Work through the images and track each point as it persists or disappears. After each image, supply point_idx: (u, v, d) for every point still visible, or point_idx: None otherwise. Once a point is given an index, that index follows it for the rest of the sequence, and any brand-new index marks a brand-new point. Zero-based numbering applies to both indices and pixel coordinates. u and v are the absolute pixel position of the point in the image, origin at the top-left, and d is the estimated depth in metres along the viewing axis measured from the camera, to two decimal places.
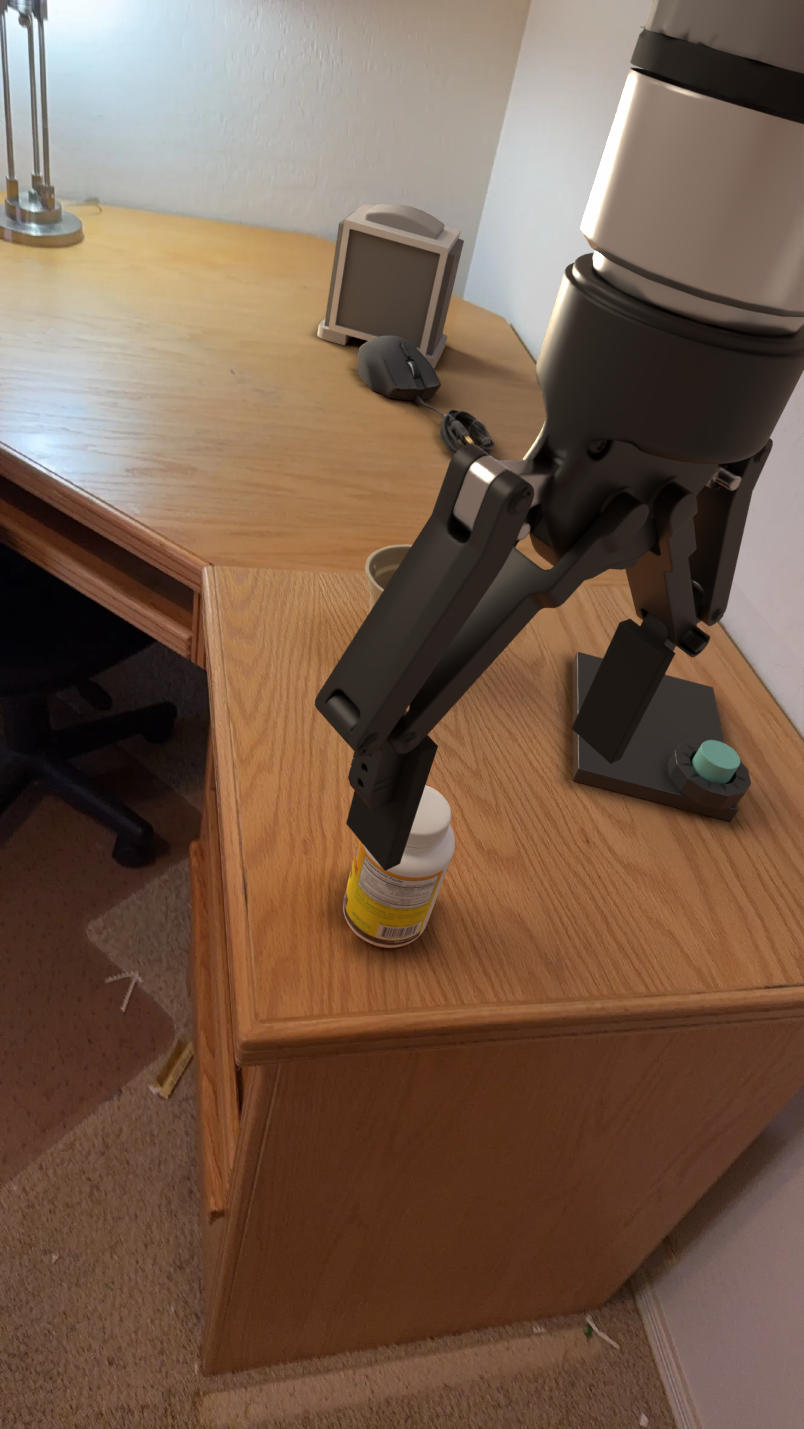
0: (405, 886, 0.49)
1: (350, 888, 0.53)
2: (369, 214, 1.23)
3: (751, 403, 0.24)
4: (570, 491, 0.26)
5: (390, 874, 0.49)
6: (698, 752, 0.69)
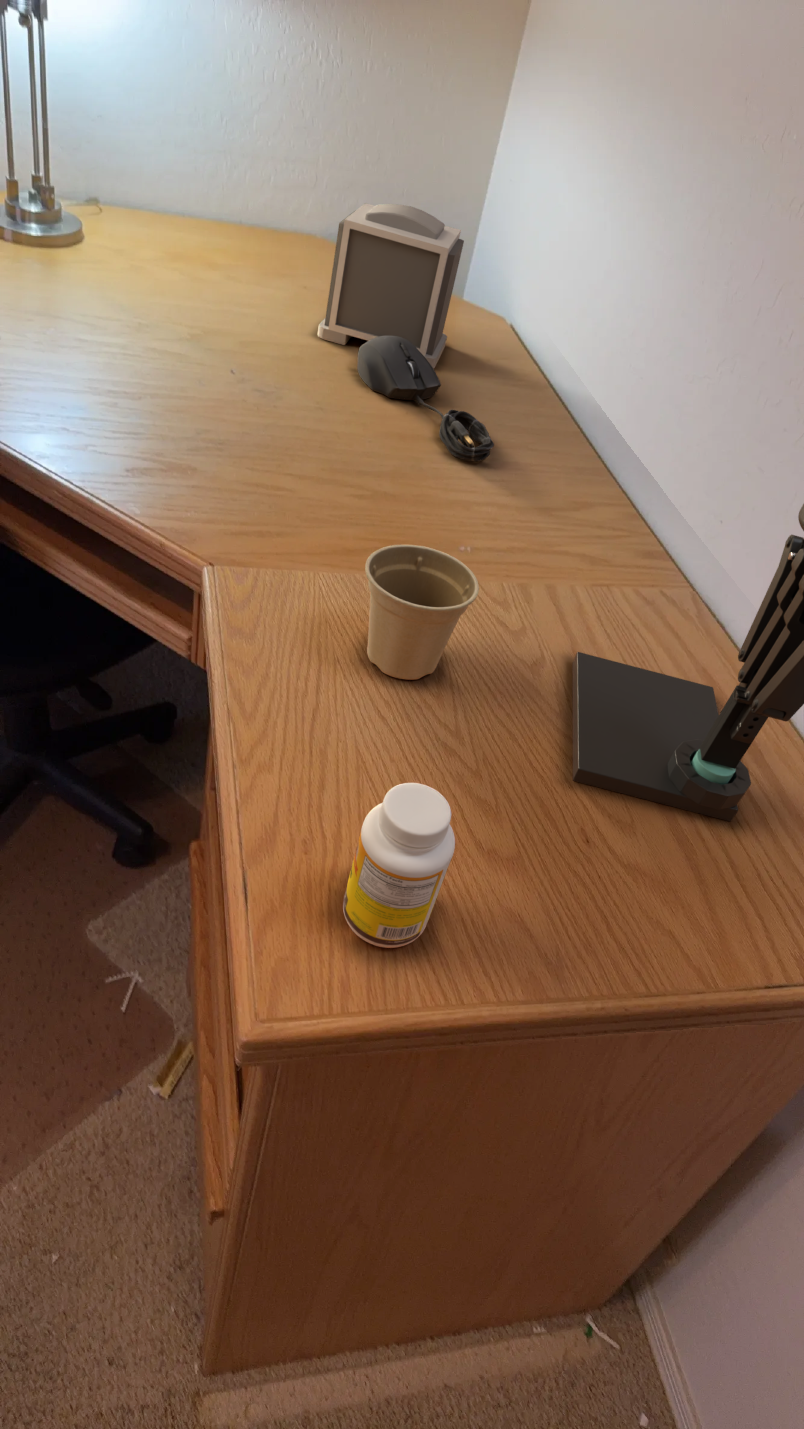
0: (405, 886, 0.49)
1: (350, 888, 0.53)
2: (369, 214, 1.23)
3: None
4: None
5: (390, 875, 0.49)
6: (694, 759, 0.69)
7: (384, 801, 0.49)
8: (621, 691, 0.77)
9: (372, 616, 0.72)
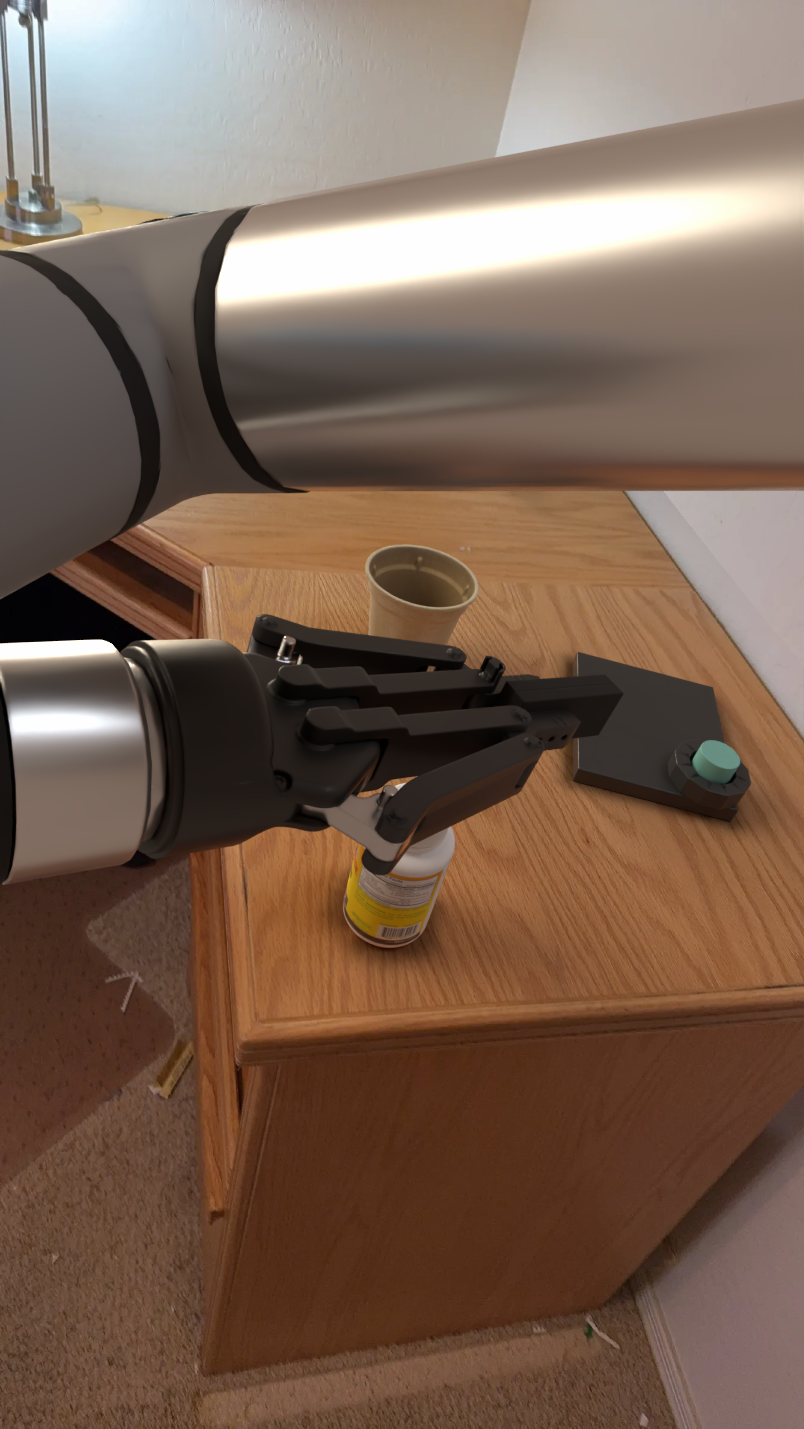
0: (405, 886, 0.49)
1: (350, 888, 0.53)
2: None
3: (208, 681, 0.28)
4: (322, 788, 0.30)
5: (390, 874, 0.49)
6: (698, 752, 0.69)
7: None
8: None
9: (372, 616, 0.72)
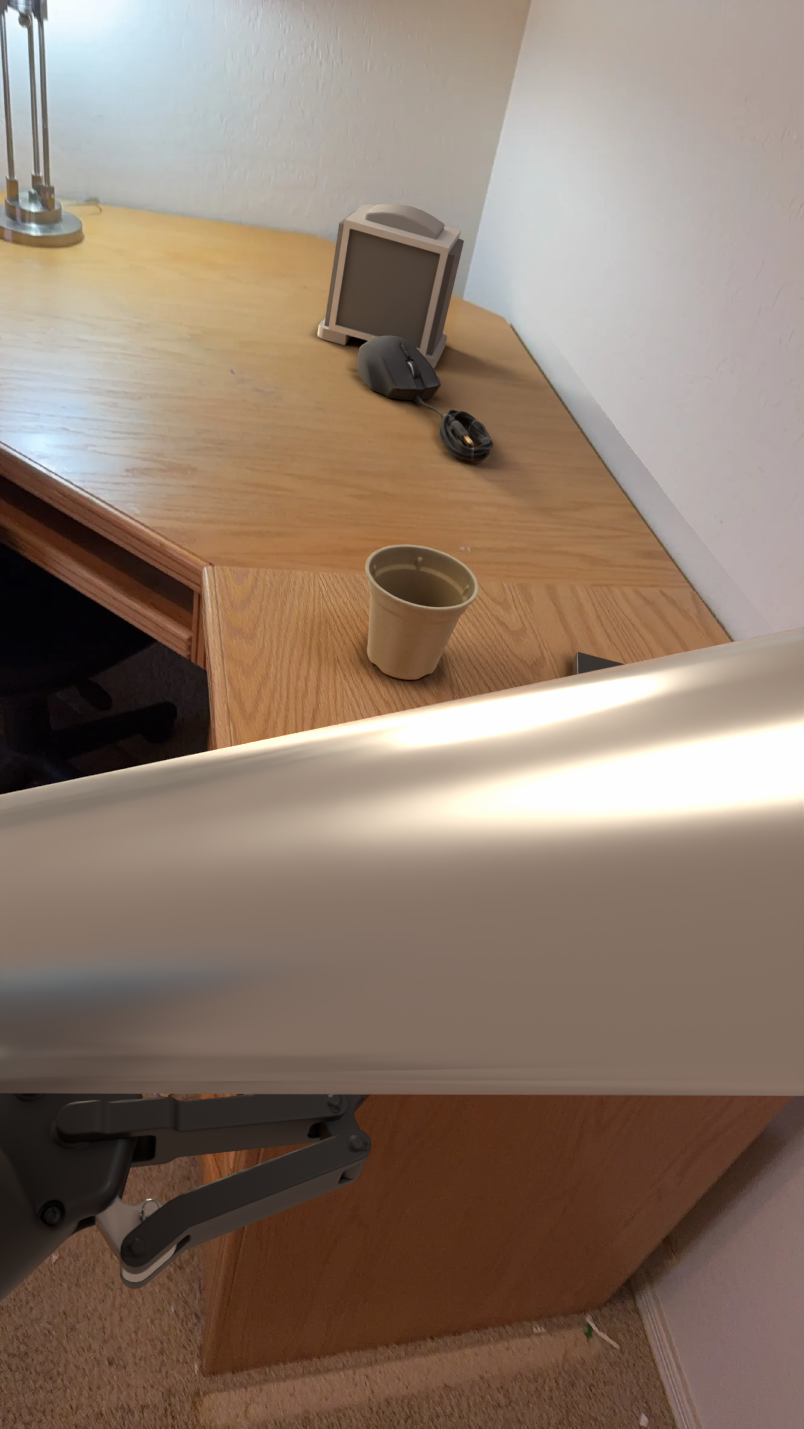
0: None
1: None
2: (369, 214, 1.23)
3: None
4: (96, 1196, 0.32)
5: None
6: None
7: None
8: None
9: (372, 616, 0.72)
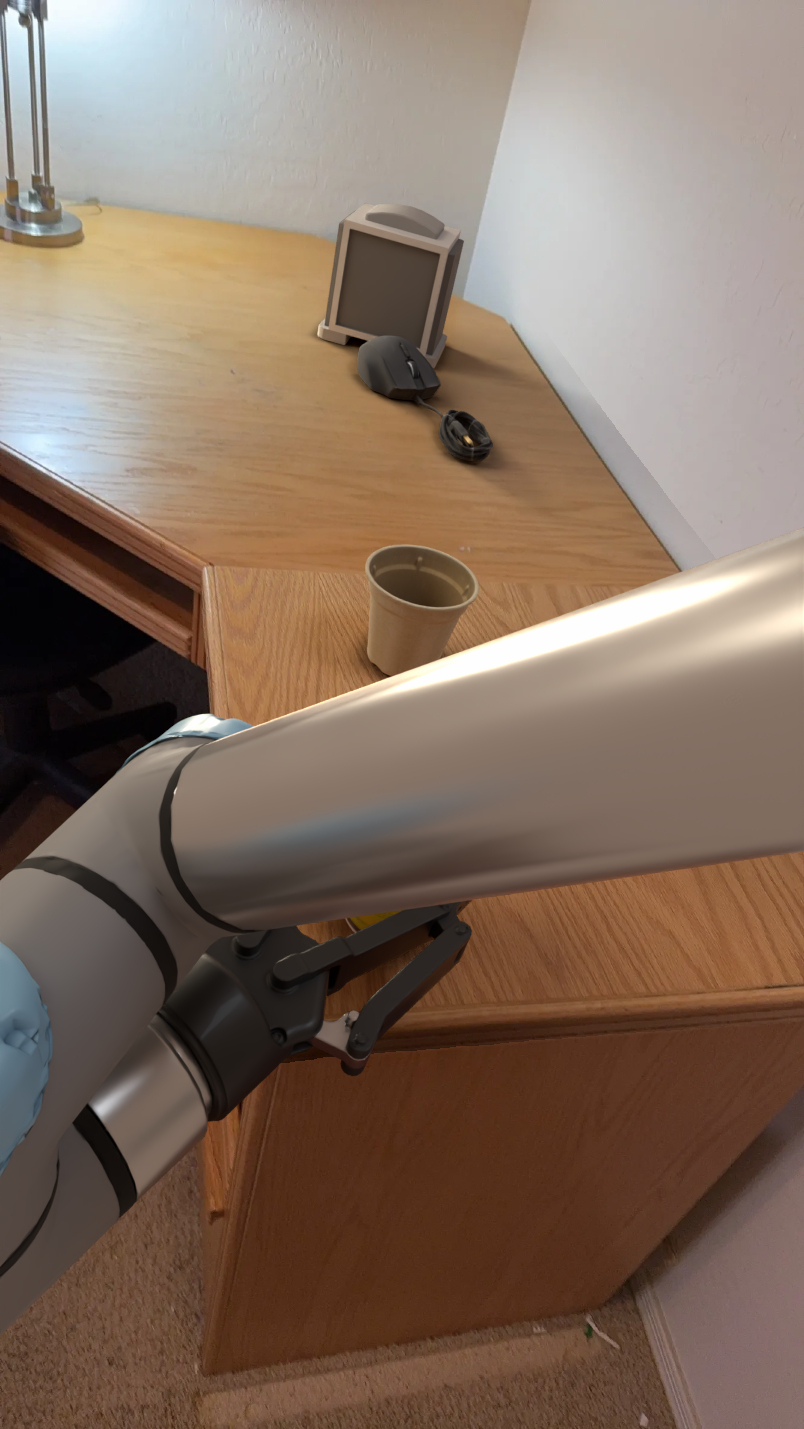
0: None
1: None
2: (369, 214, 1.23)
3: (210, 1007, 0.38)
4: (307, 1026, 0.41)
5: None
6: None
7: None
8: None
9: (372, 616, 0.72)
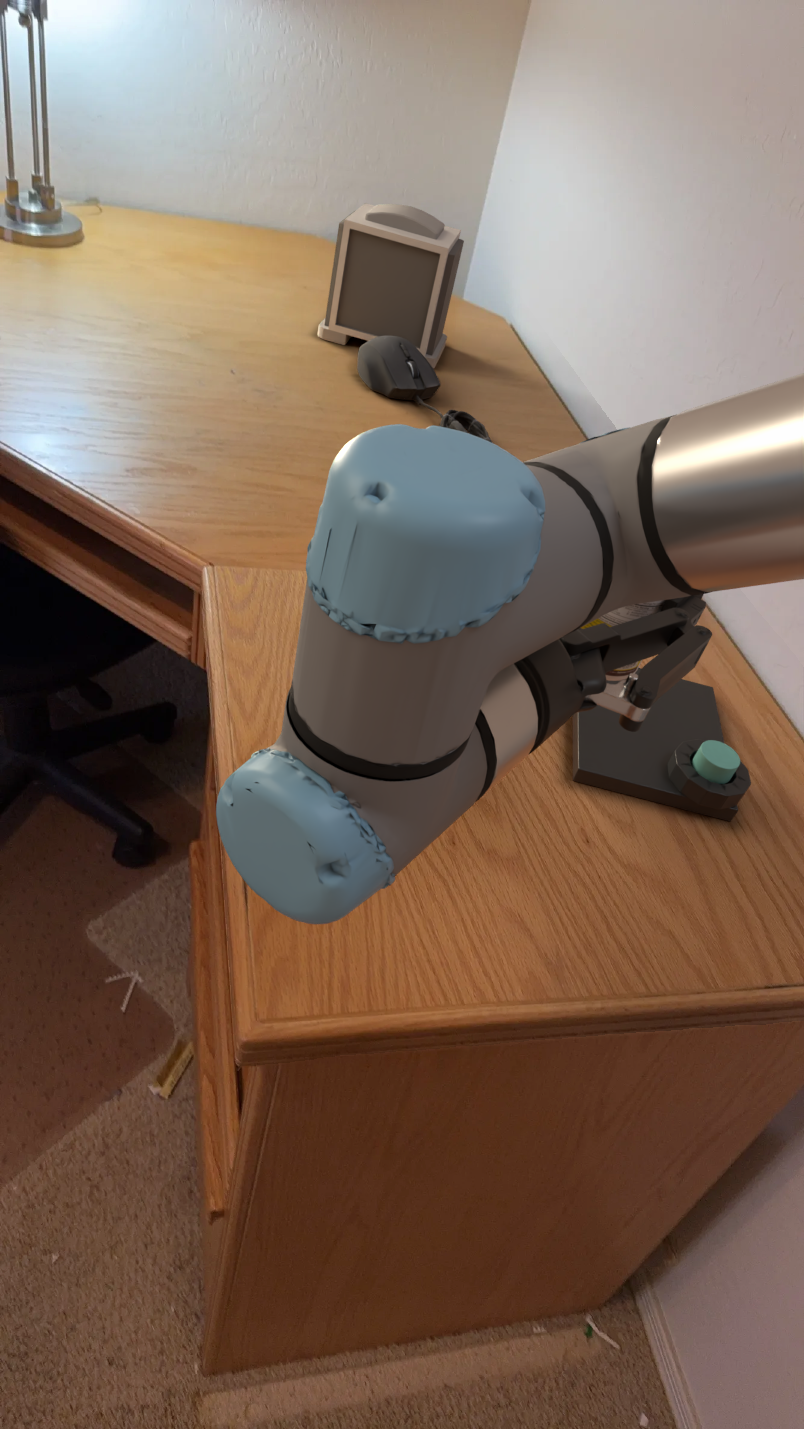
0: (642, 604, 0.55)
1: None
2: (369, 214, 1.23)
3: None
4: (597, 680, 0.47)
5: None
6: (698, 752, 0.69)
7: None
8: None
9: None
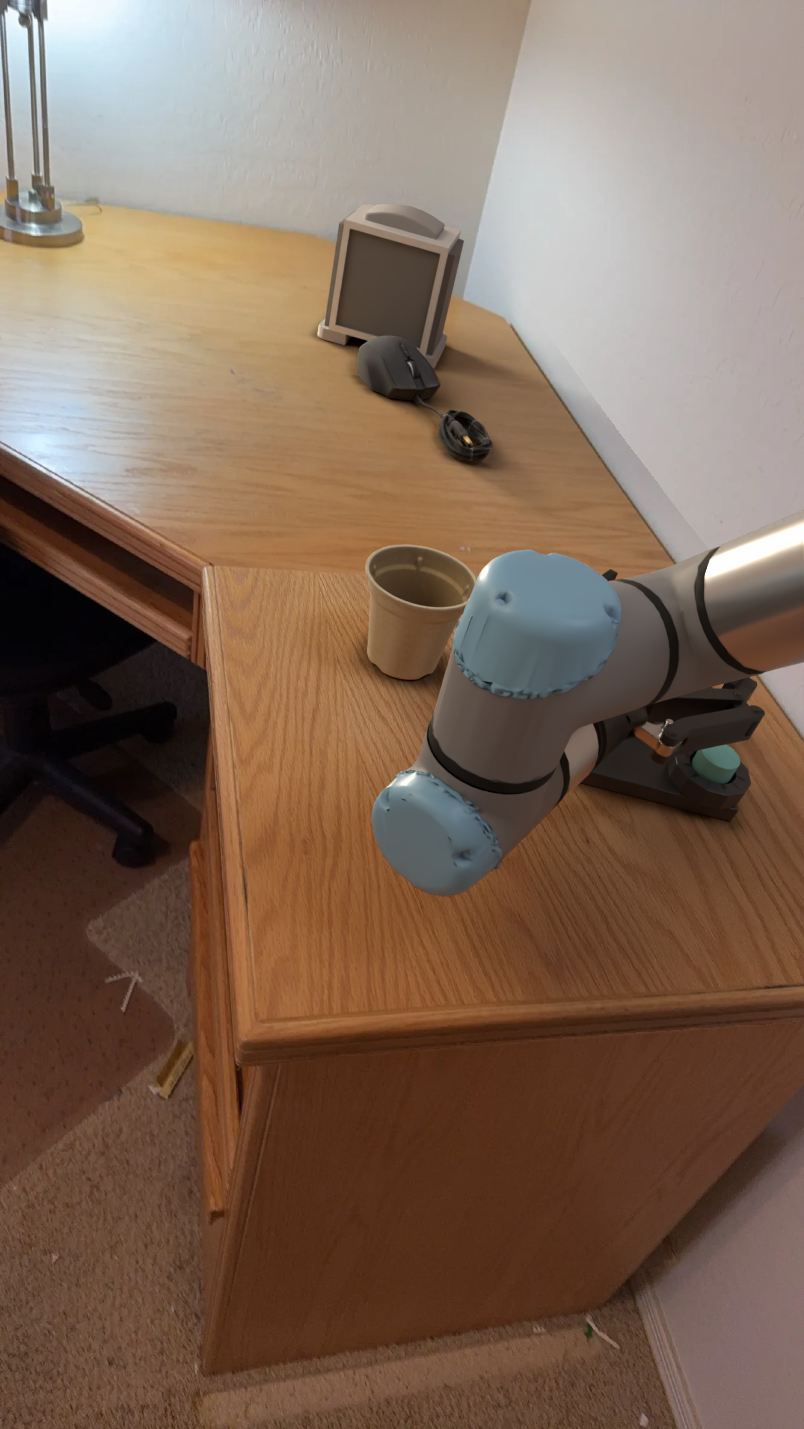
0: None
1: None
2: (369, 214, 1.23)
3: None
4: (641, 715, 0.61)
5: None
6: (698, 752, 0.69)
7: None
8: None
9: (372, 616, 0.72)
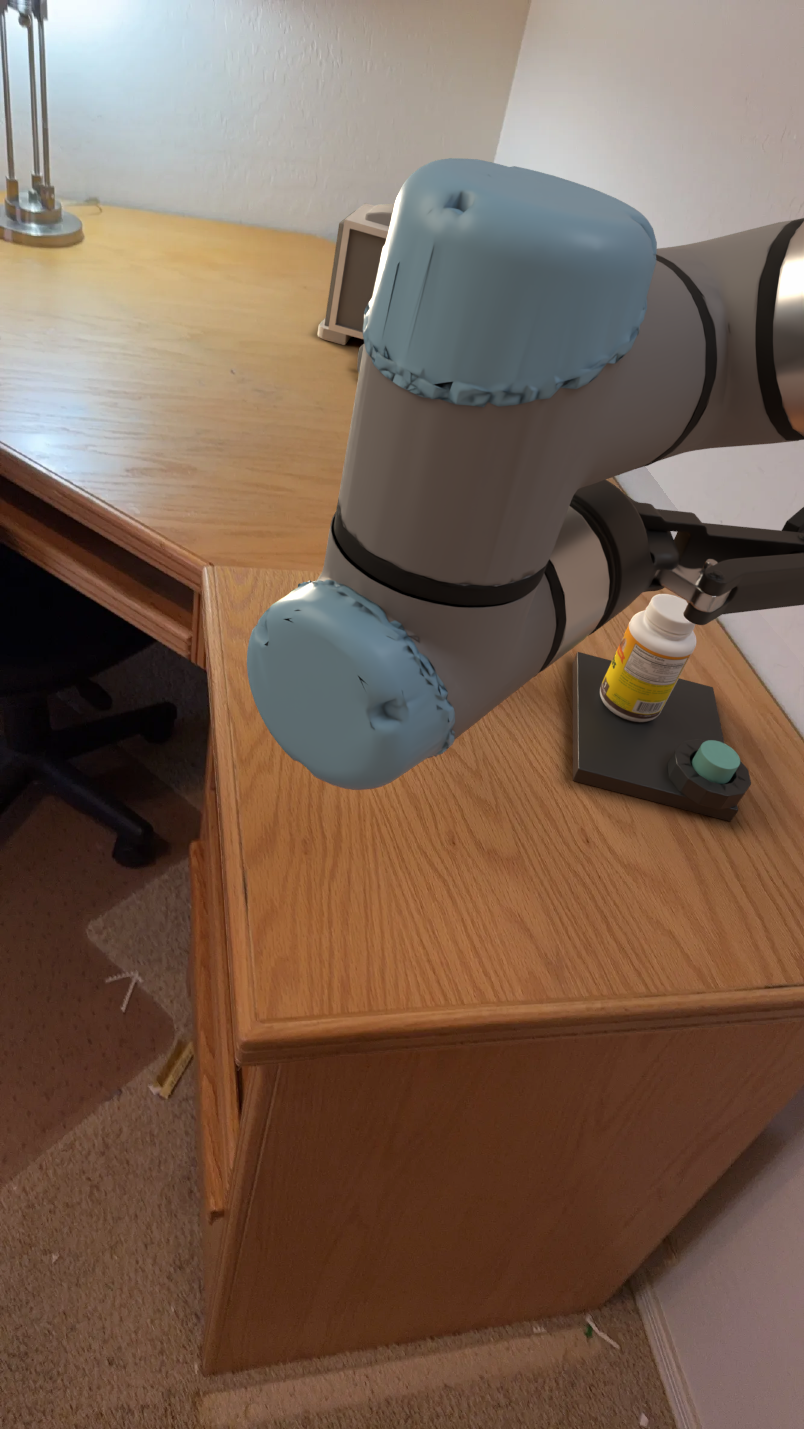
0: (665, 664, 0.70)
1: (613, 676, 0.73)
2: (369, 214, 1.23)
3: (602, 497, 0.38)
4: (670, 554, 0.42)
5: (656, 655, 0.69)
6: (698, 752, 0.69)
7: (652, 603, 0.69)
8: None
9: None
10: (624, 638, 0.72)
